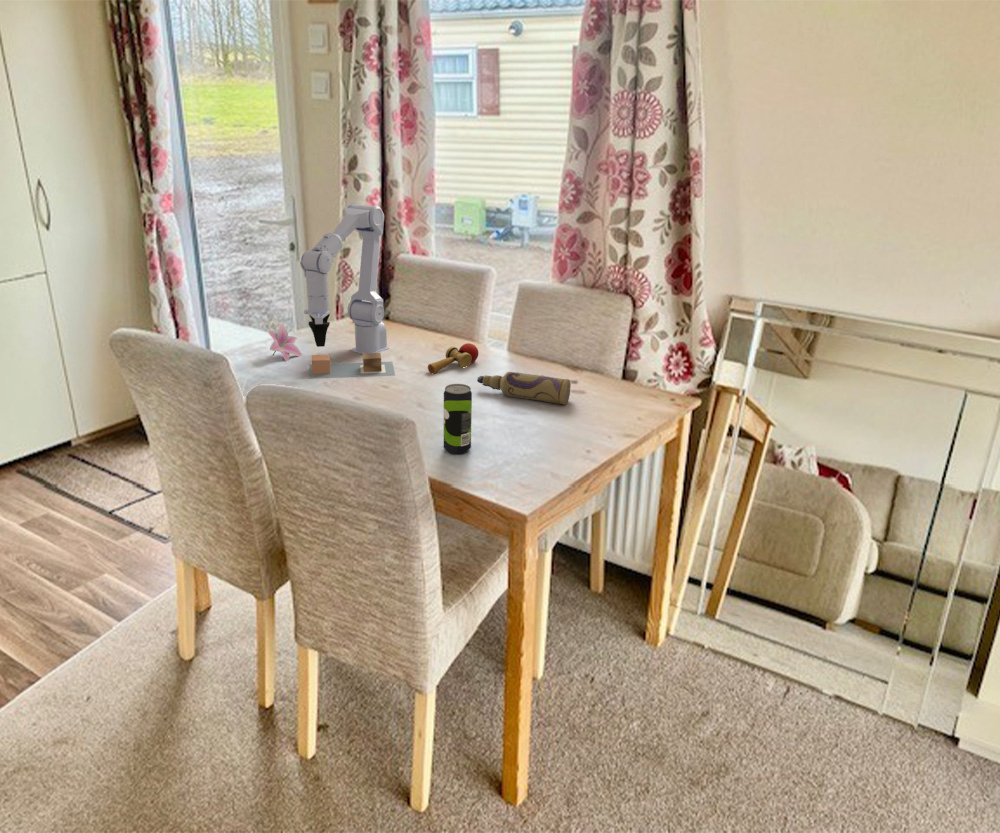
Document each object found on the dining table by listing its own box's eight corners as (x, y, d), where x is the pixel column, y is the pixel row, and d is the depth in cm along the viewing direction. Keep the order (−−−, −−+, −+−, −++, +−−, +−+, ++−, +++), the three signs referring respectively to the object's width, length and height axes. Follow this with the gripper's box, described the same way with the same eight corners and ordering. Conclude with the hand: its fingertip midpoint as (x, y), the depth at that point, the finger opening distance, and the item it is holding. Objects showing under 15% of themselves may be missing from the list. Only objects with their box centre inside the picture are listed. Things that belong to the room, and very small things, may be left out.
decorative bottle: (571, 399, 209) (573, 376, 207) (563, 409, 203) (565, 385, 200) (482, 384, 218) (483, 362, 215) (472, 393, 211) (472, 370, 208)
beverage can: (470, 444, 181) (471, 383, 175) (470, 455, 175) (471, 393, 169) (444, 443, 181) (444, 383, 175) (443, 455, 175) (443, 393, 169)
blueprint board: (392, 362, 232) (392, 361, 232) (395, 376, 221) (395, 375, 221) (309, 365, 228) (309, 364, 228) (308, 379, 217) (308, 378, 217)
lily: (264, 369, 227) (277, 343, 223) (250, 344, 233) (262, 319, 229) (300, 373, 236) (313, 348, 231) (285, 349, 242) (298, 324, 238)
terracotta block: (330, 367, 226) (329, 354, 224) (330, 373, 221) (329, 360, 219) (312, 368, 225) (311, 355, 223) (312, 374, 220) (311, 360, 218)
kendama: (442, 381, 223) (486, 360, 234) (437, 361, 220) (482, 340, 232) (425, 379, 228) (469, 358, 239) (420, 359, 226) (464, 338, 237)
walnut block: (380, 365, 228) (380, 352, 227) (381, 371, 224) (381, 358, 222) (363, 366, 227) (362, 353, 226) (363, 372, 223) (363, 358, 221)
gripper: (303, 288, 220) (306, 335, 225) (302, 301, 207) (305, 350, 212) (329, 288, 221) (331, 334, 227) (329, 301, 208) (331, 349, 214)
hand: (320, 342), depth 219 cm, fingers open, 7 cm apart
